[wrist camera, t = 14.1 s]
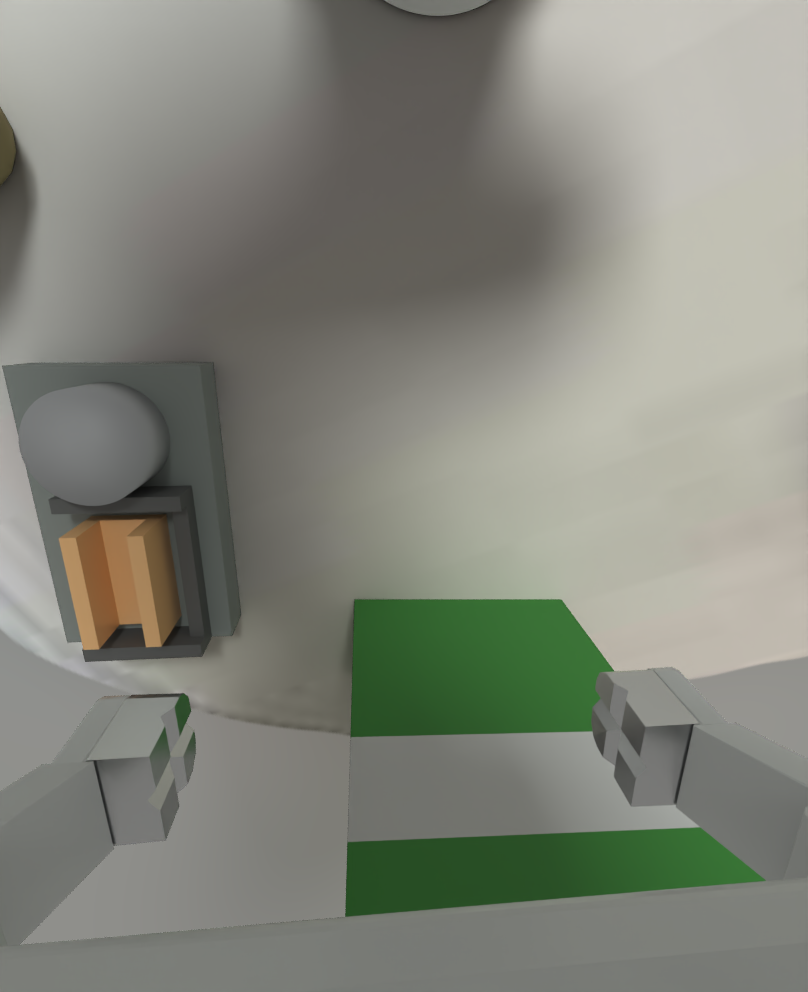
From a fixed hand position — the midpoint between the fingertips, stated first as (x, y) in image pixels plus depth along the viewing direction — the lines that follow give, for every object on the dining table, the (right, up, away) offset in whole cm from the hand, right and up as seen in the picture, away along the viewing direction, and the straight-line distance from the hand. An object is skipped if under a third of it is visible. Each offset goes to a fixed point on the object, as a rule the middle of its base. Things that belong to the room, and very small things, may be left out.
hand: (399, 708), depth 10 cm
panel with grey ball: (-19, +4, +28) cm, 34 cm away
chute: (-19, -1, +26) cm, 32 cm away
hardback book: (+5, -8, +34) cm, 35 cm away
